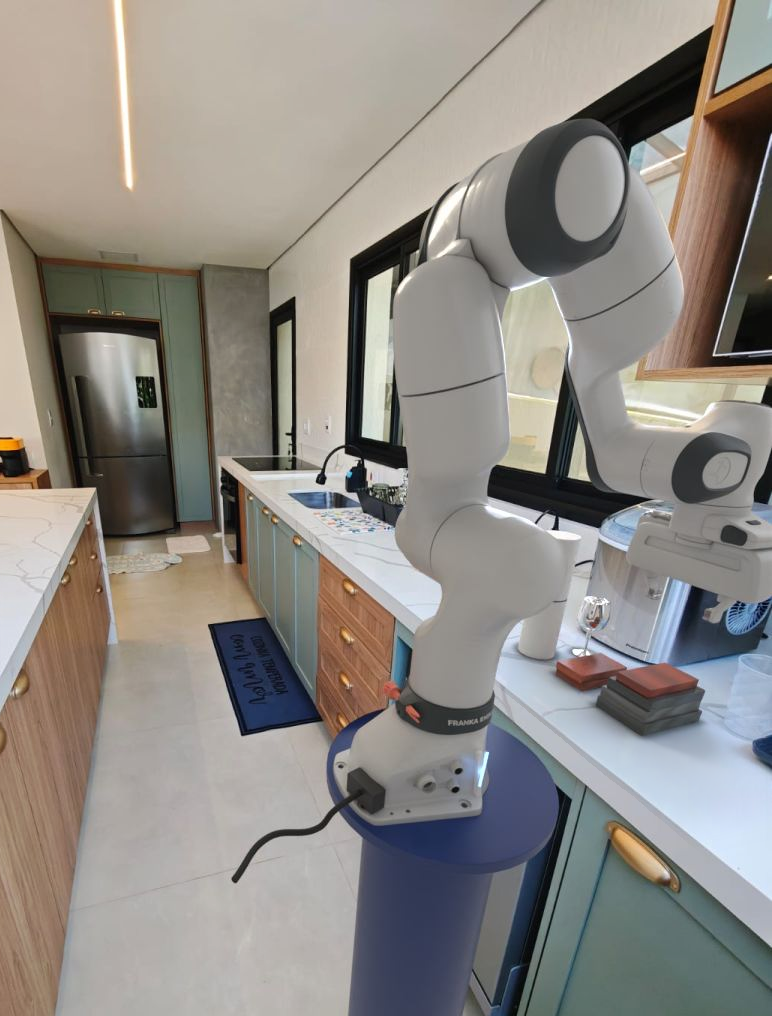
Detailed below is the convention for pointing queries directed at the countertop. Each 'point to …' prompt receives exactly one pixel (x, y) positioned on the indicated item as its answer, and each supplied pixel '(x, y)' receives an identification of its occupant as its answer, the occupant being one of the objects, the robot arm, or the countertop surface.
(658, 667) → the rust booklet
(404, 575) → the countertop surface
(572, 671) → the rust books
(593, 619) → the wineglass
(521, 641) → the cylindrical container
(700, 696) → the grey books
